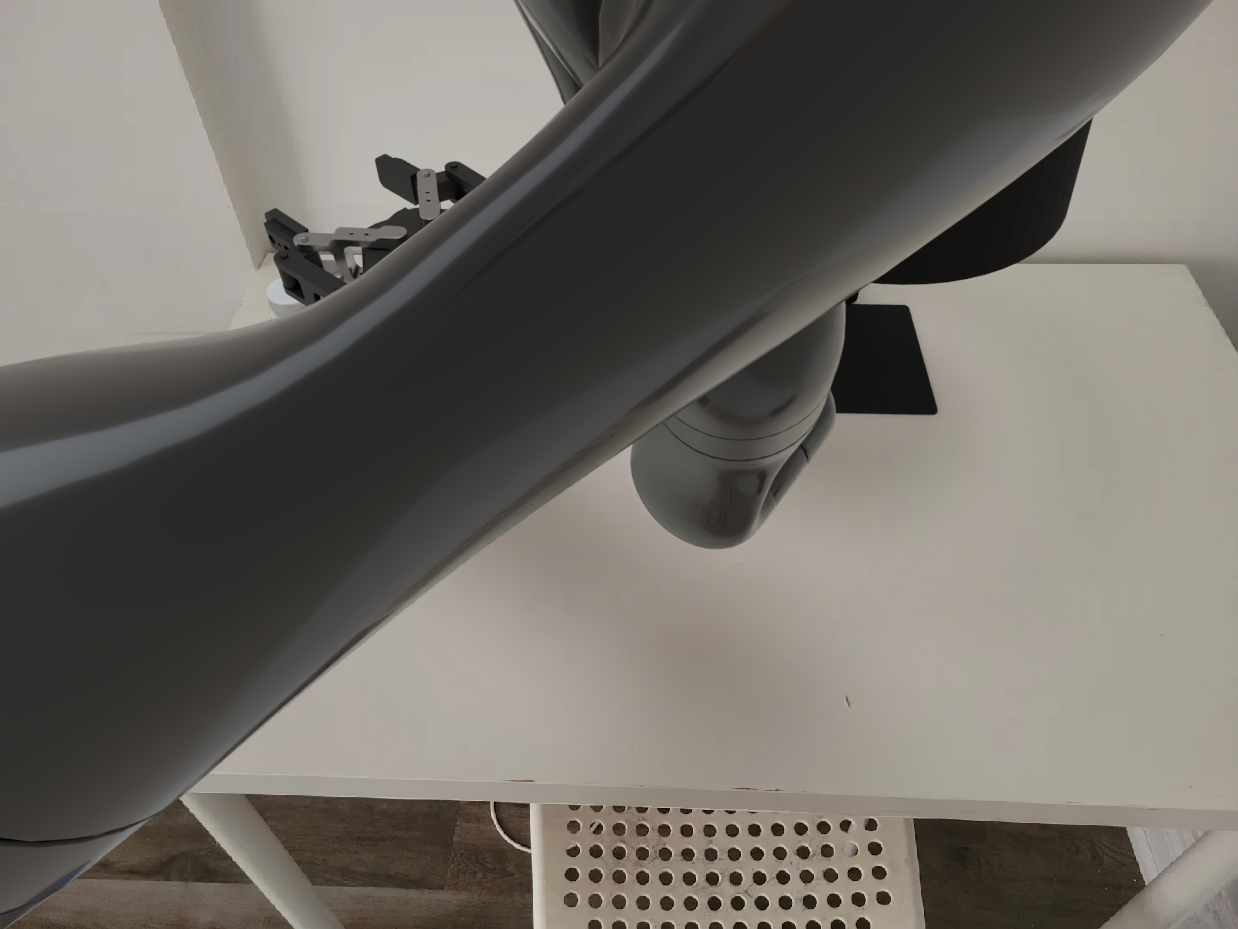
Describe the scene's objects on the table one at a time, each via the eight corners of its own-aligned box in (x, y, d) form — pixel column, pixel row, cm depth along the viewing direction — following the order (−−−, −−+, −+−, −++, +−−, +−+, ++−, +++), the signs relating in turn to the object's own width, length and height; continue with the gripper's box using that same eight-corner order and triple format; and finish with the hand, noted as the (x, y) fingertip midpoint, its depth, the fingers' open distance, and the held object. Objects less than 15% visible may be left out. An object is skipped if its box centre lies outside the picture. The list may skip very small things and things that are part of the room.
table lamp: (923, 296, 85) (1090, -211, 55) (994, 532, 67) (1303, -30, 37) (660, 292, 86) (681, -212, 55) (660, 524, 68) (691, -35, 37)
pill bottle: (352, 370, 78) (328, 295, 71) (300, 389, 76) (270, 314, 70) (335, 339, 81) (310, 264, 74) (284, 356, 79) (255, 281, 73)
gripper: (584, 191, 51) (403, 99, 58) (390, 309, 44) (211, 188, 51) (587, 294, 57) (422, 199, 63) (416, 413, 50) (251, 292, 56)
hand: (328, 194), depth 57 cm, fingers open, 8 cm apart
